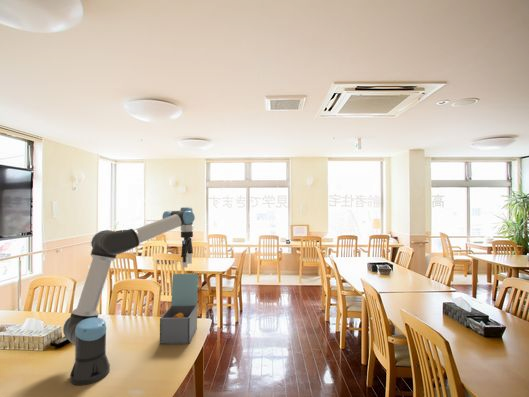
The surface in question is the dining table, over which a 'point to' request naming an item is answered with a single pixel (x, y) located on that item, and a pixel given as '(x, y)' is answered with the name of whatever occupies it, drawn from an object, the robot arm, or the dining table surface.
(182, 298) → the lid
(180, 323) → the box
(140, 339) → the dining table surface
